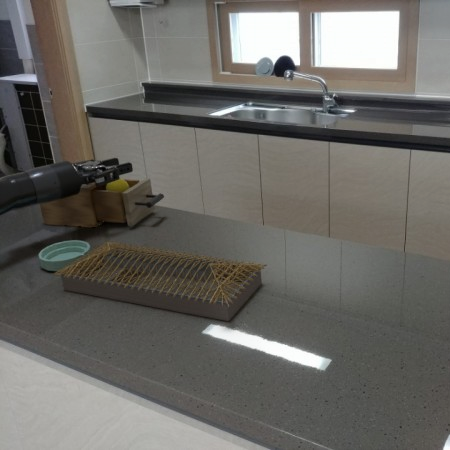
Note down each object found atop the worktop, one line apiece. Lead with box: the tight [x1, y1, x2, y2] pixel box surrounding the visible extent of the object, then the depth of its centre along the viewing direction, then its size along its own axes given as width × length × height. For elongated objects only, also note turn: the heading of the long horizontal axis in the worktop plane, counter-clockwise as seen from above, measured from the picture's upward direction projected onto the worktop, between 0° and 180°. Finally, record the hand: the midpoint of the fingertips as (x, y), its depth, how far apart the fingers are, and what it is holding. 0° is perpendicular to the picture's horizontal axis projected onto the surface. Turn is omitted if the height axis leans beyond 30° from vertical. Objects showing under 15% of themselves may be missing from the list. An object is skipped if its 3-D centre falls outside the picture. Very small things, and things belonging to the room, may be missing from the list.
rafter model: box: [52, 241, 268, 322], centre depth 95 cm, size 35×14×6 cm, turn 69°
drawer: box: [90, 177, 165, 227], centre depth 124 cm, size 17×10×8 cm, turn 76°
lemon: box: [106, 178, 130, 208], centre depth 124 cm, size 6×6×8 cm
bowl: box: [38, 239, 92, 272], centre depth 106 cm, size 9×9×2 cm
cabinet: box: [39, 173, 112, 229], centre depth 127 cm, size 14×12×10 cm
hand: (124, 164), depth 123 cm, fingers open, 5 cm apart
